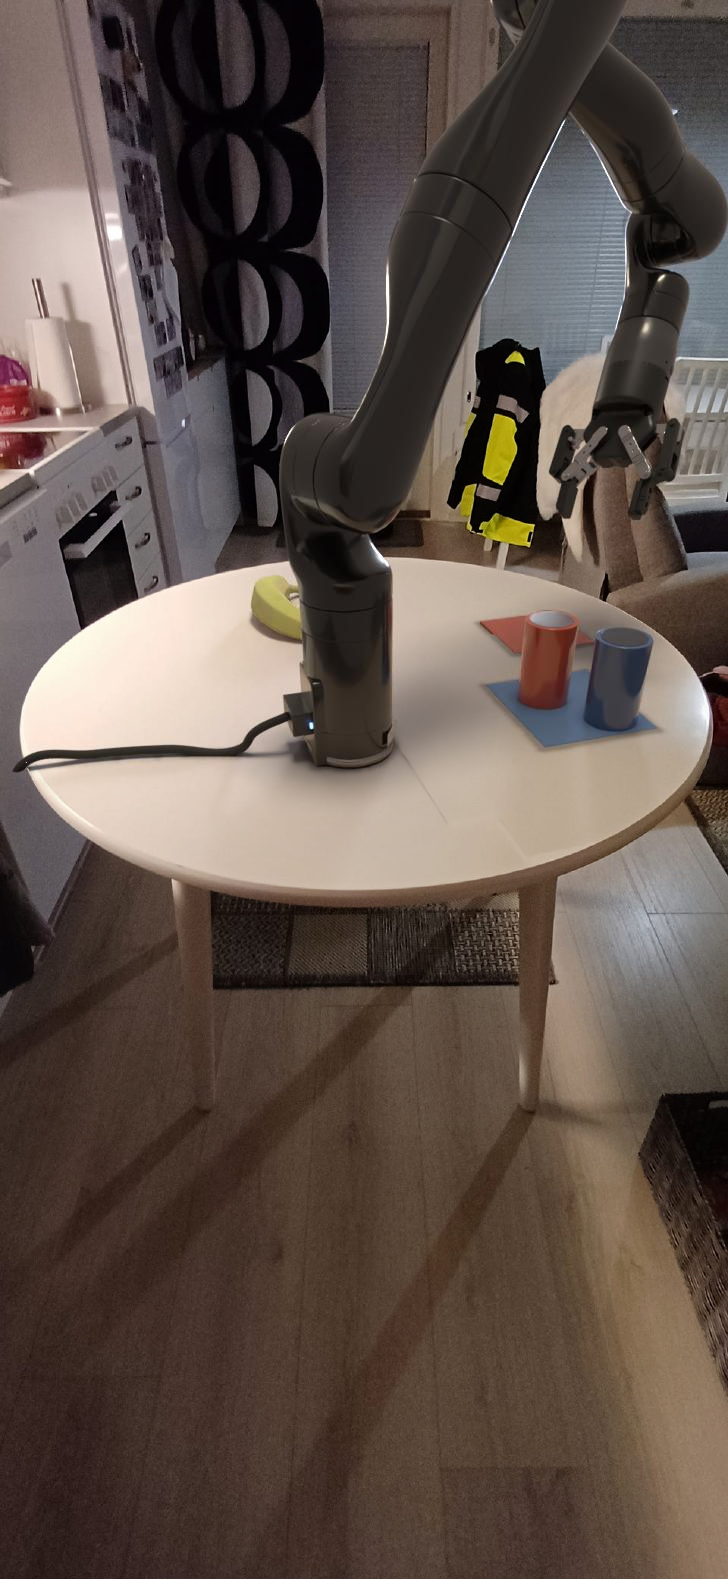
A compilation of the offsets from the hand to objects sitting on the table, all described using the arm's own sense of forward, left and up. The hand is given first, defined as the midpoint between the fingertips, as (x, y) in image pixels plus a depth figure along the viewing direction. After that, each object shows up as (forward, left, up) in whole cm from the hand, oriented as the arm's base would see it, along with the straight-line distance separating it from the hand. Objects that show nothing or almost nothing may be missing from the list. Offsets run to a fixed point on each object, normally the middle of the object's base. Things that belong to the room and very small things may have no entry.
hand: (597, 517), depth 88 cm
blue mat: (-5, -8, -20) cm, 22 cm away
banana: (-30, +31, -20) cm, 48 cm away
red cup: (-7, -5, -20) cm, 21 cm away
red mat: (+1, +14, -20) cm, 24 cm away
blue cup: (-2, -12, -20) cm, 23 cm away
